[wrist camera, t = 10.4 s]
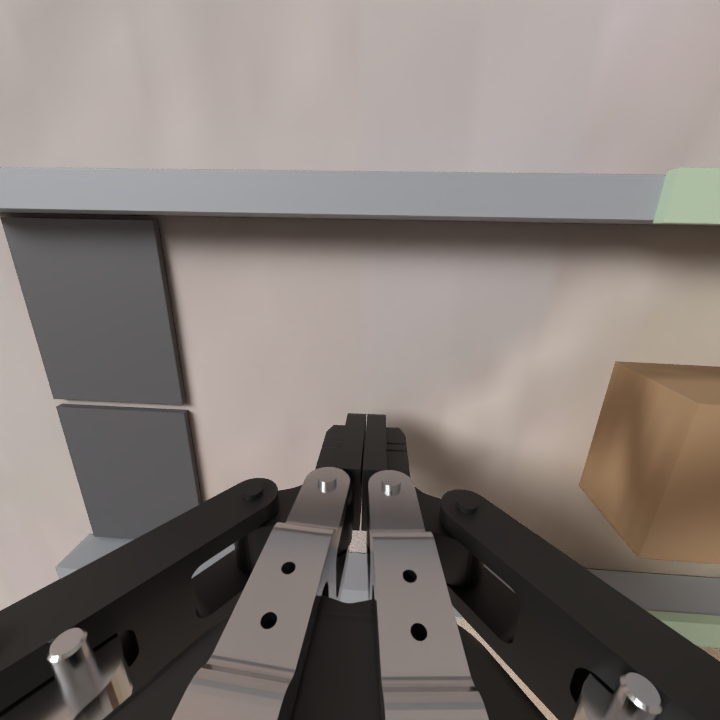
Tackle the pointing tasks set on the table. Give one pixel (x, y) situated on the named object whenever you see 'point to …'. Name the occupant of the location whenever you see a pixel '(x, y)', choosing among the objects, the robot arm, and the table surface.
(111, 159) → the table surface
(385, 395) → the table surface
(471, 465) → the table surface
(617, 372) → the walnut block
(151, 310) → the frame
